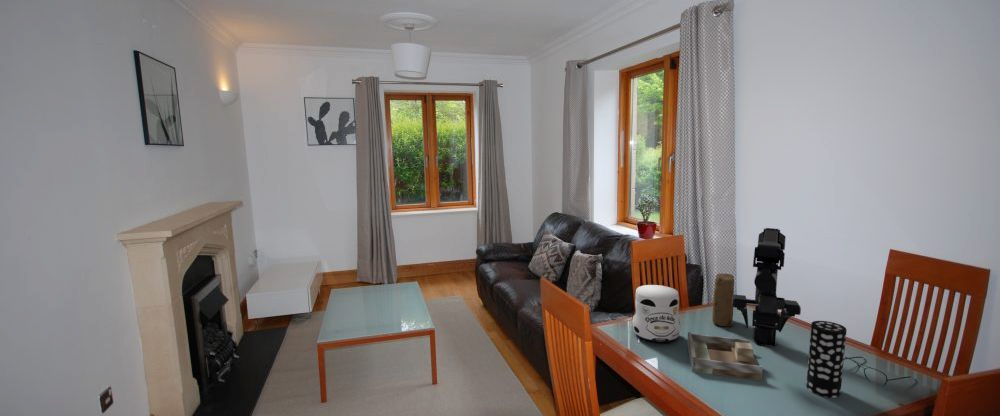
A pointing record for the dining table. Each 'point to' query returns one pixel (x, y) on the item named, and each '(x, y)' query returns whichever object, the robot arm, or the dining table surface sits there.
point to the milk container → (656, 313)
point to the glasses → (872, 368)
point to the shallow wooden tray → (720, 357)
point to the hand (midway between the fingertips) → (763, 329)
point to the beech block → (743, 352)
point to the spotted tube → (826, 358)
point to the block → (723, 300)
